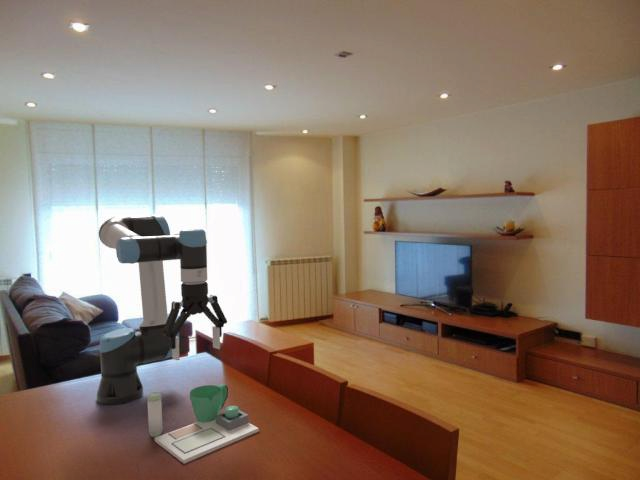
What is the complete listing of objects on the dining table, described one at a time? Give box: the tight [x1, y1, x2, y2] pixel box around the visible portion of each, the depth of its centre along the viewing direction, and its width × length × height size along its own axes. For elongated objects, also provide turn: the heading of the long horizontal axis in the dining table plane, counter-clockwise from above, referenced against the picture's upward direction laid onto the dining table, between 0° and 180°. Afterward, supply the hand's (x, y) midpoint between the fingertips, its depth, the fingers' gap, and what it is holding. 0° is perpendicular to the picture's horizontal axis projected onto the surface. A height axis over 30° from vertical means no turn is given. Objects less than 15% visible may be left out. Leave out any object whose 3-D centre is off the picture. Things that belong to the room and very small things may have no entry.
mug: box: [189, 383, 229, 422], centre depth 146 cm, size 15×10×10 cm
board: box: [154, 409, 260, 464], centre depth 134 cm, size 17×24×4 cm
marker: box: [146, 391, 164, 438], centre depth 136 cm, size 4×4×12 cm
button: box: [224, 405, 240, 420], centre depth 140 cm, size 4×4×3 cm
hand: (197, 353), depth 137 cm, fingers open, 13 cm apart
